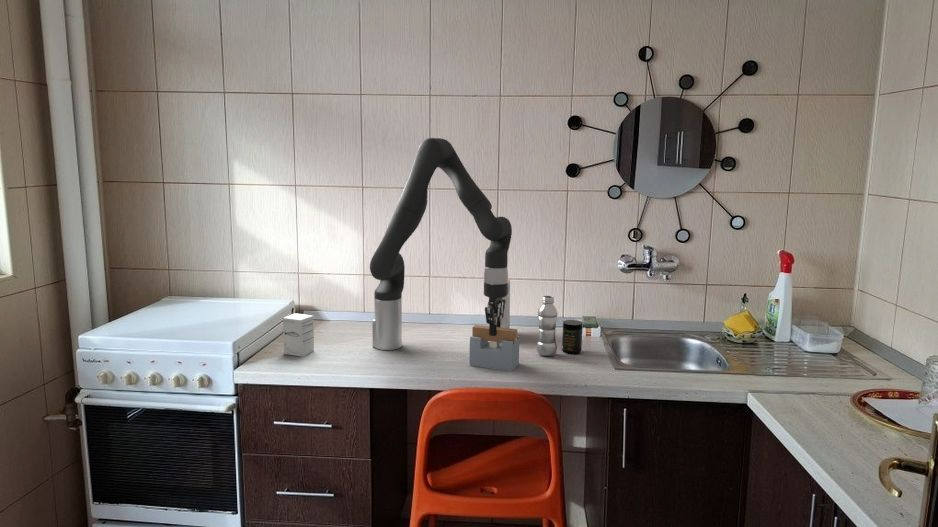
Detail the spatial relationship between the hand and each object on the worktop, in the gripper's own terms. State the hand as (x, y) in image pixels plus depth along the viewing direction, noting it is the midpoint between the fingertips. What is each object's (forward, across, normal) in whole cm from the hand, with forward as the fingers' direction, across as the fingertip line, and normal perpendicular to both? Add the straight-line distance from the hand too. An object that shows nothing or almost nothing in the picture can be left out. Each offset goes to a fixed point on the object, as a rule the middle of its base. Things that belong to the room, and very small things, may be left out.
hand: (494, 333), depth 218 cm
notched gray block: (+10, 0, 0) cm, 10 cm away
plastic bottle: (+10, -16, +13) cm, 23 cm away
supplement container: (+10, -23, +20) cm, 32 cm away
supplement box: (+10, +14, -64) cm, 66 cm away
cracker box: (+10, -30, -8) cm, 33 cm away
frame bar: (+2, 0, 0) cm, 2 cm away
